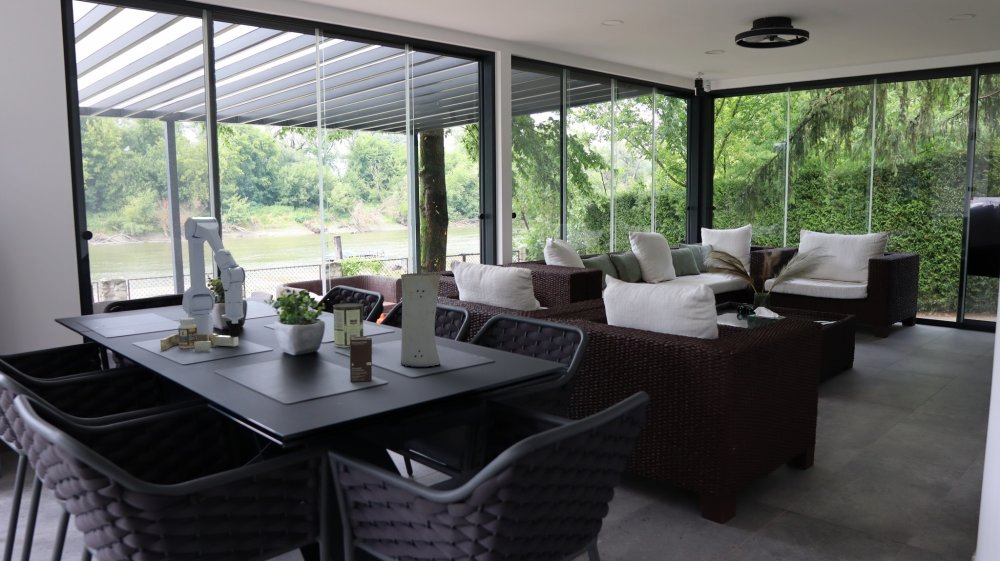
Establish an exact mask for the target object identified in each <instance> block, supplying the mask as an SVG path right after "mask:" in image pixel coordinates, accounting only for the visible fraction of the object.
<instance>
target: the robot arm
mask: <svg viewBox="0 0 1000 561" xmlns="http://www.w3.org/2000/svg"><path fill="white" fill-rule="evenodd" d="M219 229H220V225H219V222H218V220H217V218H216V217H214V216H210V217H207V216H206V217H192V216H188V217H187V218H186V220H185V222H184V236H185V238H184V239H185V240H186V241H187V245H188V246H187V248H188V263H189V264H188V265H189V279H190V280H189V281H190V287H189V288H187V289H186V290H185V291H184V292H183V293H182V294H183V295H182V296H183V297H182V302H181V303H182V304H181V305H182V309H183V311H184V312H185V314H187V315H188V317H187V318H195V322H194V324H195V325H196V326H197V334H208V339H209V335H210V334H217V333H214V324H213V322H214V321H213V316H212V314H211V313H212V311H213V310H214V308H215V306H216V301H215V297H214V293H213V290H212V289H210V287H208V286H207V282H206V264H205V263H206V260H205V249H204V248H205V246H204V245H205V242H207V243H208V245H209V247H210V248H211V250H212V251H213V253H214V256H213V259H214V262H215V263H216V265H217V267H218V269H219V271H220V276H219V277H220V281H221V284H222V289H223V290H224V308H225V309H224V312H225V313H224V314H221V319H223V318H224V319H228V320H225V323H226V325H227V327H228V331H229V336H237V337H238V342H239V340H240V335H241V334H240V333H241V329H242V326H243V325H244V320H243V319H242V318H244V316H245V315H244V305H243V303H244V301H243V300H244V299H243V298H244V297H243V283H244V282H245V281H246V271H245V268H244V267H243V266H241V265H240V264H237V262H236V261H235V258H234V257H233V255H232V253H231V251H230V250H229V249H226V248H225V246H224V244H223V241H222V239H221V237H220V234H219Z"/></svg>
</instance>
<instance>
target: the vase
mask: <svg viewBox="0 0 1000 561" xmlns="http://www.w3.org/2000/svg"><path fill="white" fill-rule="evenodd" d="M441 276H442V275H441V273H429V272H428V273H422V272H421V273H419V272H418V273H413V272H412V273H411V272H410V273H404V274H403V273H402V274H401V275H400V279H401V291H402V297H401V298H402V300H401V304H402V305H401V306H402V308H401V309H402V310H401V346H400V347H401V352H400V364H401V365H402V366H404V365H405V366H404V367H406V366H411V368H428V367H429V366H432V367H436V366H435V365H439V364H440V365H441V362H440V361H441V360H440V358H439V354H438V348H437V344H436V334H435V332H436V331H435V324H436V323H435V322H436V313H437V304H438V303H437V302H438V294H439V286H440V280H441ZM429 368H430V367H429Z"/></svg>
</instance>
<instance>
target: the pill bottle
mask: <svg viewBox="0 0 1000 561" xmlns="http://www.w3.org/2000/svg"><path fill="white" fill-rule="evenodd" d="M194 322H195V318H188V317H180V318H179V324H180V325H178V328H177V329H178V331H177V332H178V333H177V334H179V345H178V347H179V348H180V349H182V350H183V349H188V348H189V349H195V342H196V341H197V326H196V325H195V324H194Z"/></svg>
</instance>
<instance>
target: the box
mask: <svg viewBox="0 0 1000 561" xmlns="http://www.w3.org/2000/svg"><path fill="white" fill-rule="evenodd" d="M372 351H373V339H372V336H363V337H350V348H349V382H350V383H355V382H372V381H373V380H372V379H373V375H372V374H373V373H372V372H373V365H372V364H373V352H372Z"/></svg>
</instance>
